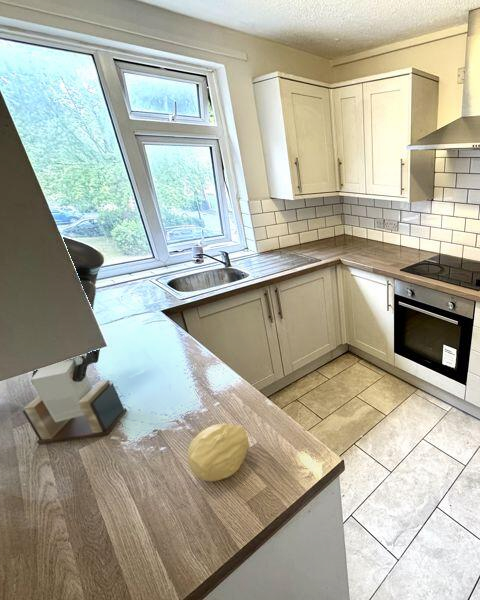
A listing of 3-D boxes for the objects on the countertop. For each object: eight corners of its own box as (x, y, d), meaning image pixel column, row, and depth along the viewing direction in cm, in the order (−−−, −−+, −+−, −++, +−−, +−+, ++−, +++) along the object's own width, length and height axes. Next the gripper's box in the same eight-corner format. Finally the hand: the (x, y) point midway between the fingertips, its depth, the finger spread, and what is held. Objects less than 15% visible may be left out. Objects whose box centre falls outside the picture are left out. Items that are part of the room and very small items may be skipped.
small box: (66, 402, 86) (44, 361, 80) (97, 395, 88) (77, 354, 83) (53, 423, 79) (29, 379, 74) (87, 414, 82) (66, 372, 76)
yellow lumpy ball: (210, 501, 68) (197, 464, 63) (184, 470, 74) (171, 434, 70) (260, 463, 76) (252, 428, 72) (233, 438, 83) (224, 405, 78)
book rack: (38, 444, 81) (17, 409, 76) (64, 418, 89) (47, 385, 84) (107, 435, 83) (91, 401, 79) (127, 410, 91) (113, 378, 87)
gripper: (25, 316, 80) (7, 385, 74) (93, 312, 82) (80, 377, 77) (51, 325, 87) (36, 388, 81) (113, 321, 89) (102, 381, 83)
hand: (57, 383), depth 79 cm, fingers closed on small box, 7 cm apart
